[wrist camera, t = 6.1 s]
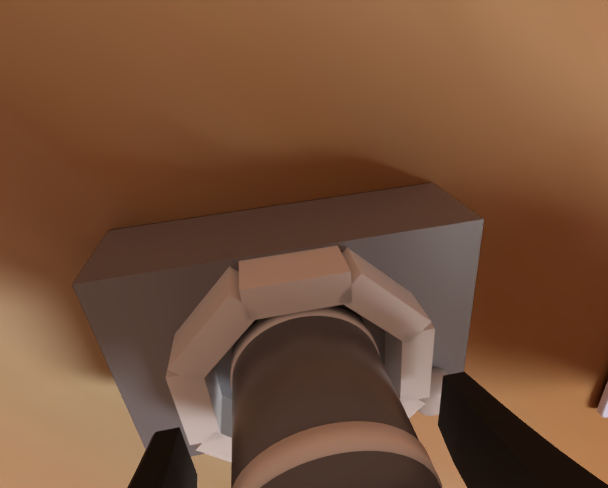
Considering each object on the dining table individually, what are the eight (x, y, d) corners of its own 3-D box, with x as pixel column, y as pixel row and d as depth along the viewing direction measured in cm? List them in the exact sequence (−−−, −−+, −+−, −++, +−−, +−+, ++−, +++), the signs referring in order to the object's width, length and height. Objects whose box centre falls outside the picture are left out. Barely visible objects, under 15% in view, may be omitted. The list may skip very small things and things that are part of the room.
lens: (373, 282, 12) (479, 461, 7) (358, 386, 14) (431, 587, 9) (227, 289, 12) (221, 494, 6) (233, 398, 14) (232, 623, 8)
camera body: (432, 182, 15) (515, 241, 11) (422, 342, 19) (480, 434, 14) (107, 230, 14) (49, 318, 9) (166, 390, 18) (143, 506, 13)
